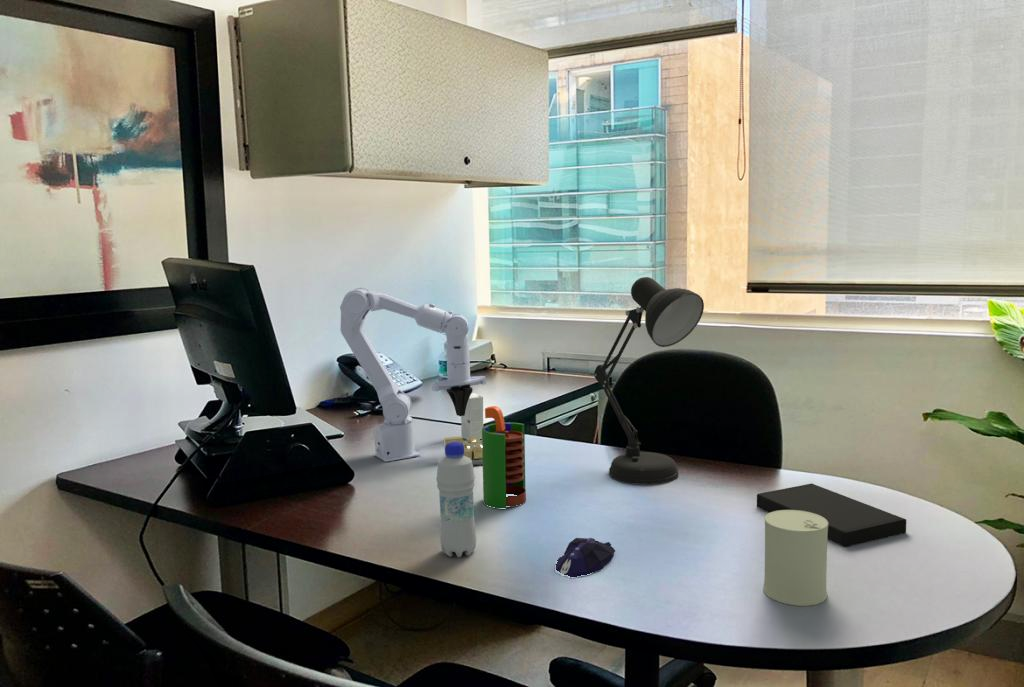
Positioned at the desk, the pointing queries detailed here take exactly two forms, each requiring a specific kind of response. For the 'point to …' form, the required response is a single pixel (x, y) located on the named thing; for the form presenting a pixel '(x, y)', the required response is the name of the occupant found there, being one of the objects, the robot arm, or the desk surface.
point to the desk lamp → (666, 326)
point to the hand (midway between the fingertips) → (460, 415)
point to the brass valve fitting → (469, 453)
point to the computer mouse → (584, 557)
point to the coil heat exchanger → (503, 461)
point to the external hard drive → (836, 513)
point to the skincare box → (473, 418)
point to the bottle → (456, 501)
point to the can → (795, 557)
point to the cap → (474, 461)
